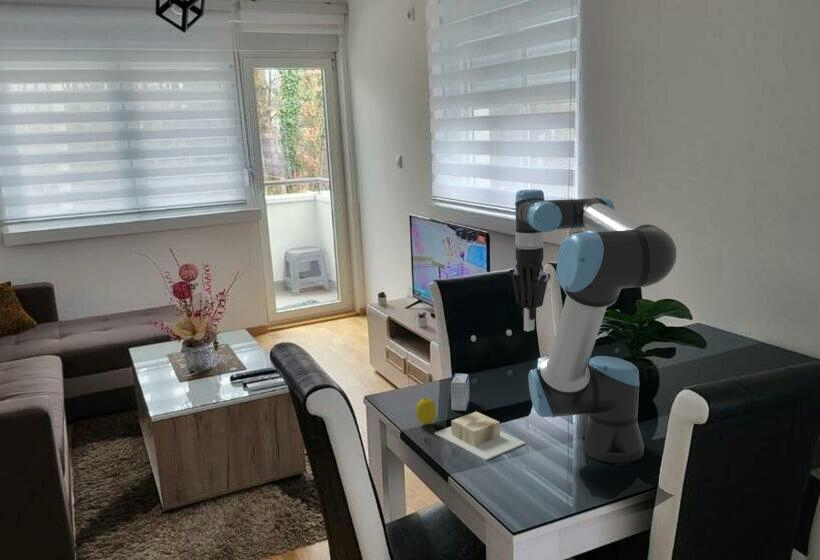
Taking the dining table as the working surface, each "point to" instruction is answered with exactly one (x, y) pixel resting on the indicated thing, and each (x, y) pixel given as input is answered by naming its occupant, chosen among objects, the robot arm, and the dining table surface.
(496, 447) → the placemat
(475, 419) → the slab
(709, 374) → the dining table surface
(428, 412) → the lemon
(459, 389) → the medicine box
